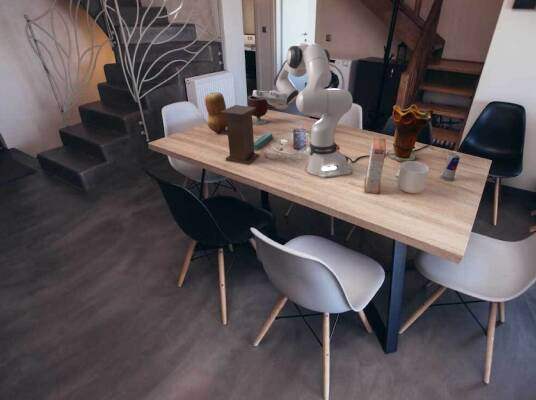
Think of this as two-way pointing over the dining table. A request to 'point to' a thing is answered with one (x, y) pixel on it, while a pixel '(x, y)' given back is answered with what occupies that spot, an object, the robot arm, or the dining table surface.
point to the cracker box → (375, 165)
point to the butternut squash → (216, 112)
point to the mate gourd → (258, 109)
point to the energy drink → (450, 166)
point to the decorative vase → (407, 131)
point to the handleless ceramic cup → (412, 176)
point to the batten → (262, 141)
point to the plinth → (240, 134)
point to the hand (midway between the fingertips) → (264, 92)
